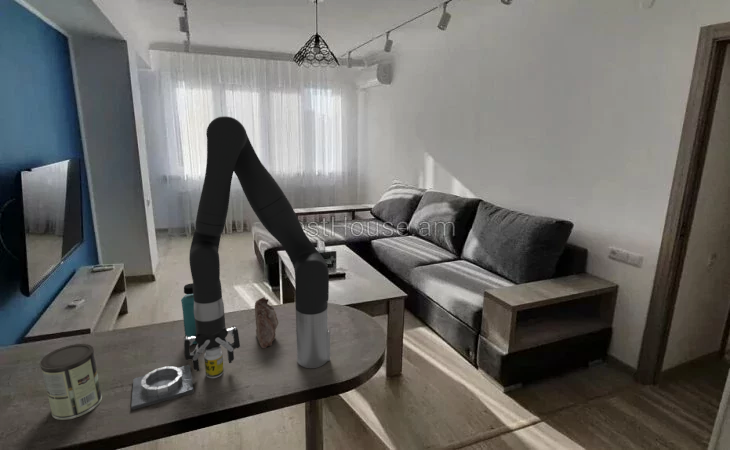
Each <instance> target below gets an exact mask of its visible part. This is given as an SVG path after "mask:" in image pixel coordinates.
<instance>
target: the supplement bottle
mask: <svg viewBox="0 0 730 450" xmlns="http://www.w3.org/2000/svg"><path fill="white" fill-rule="evenodd" d="M203 358H204V360H203V361H204V369H205V376H206V377H207V378H209V379H216V378H218V377H221V376H222V375H223V374H224V372H225V371H224V370H225V369H224V368H225V367H224V360H223V359H224V357H223V352H222V350H221V345H220V346H219V347H215V348H211V349H204V357H203Z"/></svg>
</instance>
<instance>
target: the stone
mask: <svg viewBox="0 0 730 450" xmlns="http://www.w3.org/2000/svg"><path fill="white" fill-rule="evenodd" d="M268 303H269V299H268V298H267V297H265V296H263V297H261V298H259V299H258V300H256V301H255V303H254V314H255V316H254V317H255V326H256V329H255V335H256V338H257V341H258V343H259V345H260V348H261V349H266V348H267V347H270V346H272V345H273V341H275V338H276V333H277V332H276V329H277V328H278V326H279V320H278V317H277V313H276V311H275V308H274V307H273V305H270V304H268Z"/></svg>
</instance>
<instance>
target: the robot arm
mask: <svg viewBox="0 0 730 450" xmlns="http://www.w3.org/2000/svg"><path fill="white" fill-rule="evenodd" d="M205 167H206V168H205V173H204V180H203V185H202V189H201V192H200V196H199V197H200V199H199V202H198V208H197V211H196V212H197V213H196V218H195V219H196V220H195V224H194V225H195V227H194V232H193V235H192V236H193V237H192V240H191V243H190V248H189V259H188V260H189V268H190V274H191V279H192V283H193V297H194V317H195V327H196V335H195V336H193V337H188V336H185V335H184V336H183V351H184V353H183V354H184V359H185V360H186V361H189V360H191V361H192V367H193V370H194V371H196V372H200V363H199V357H200V356H201V354H203V352H205V349H211V348H215V347H219V346H220V347H223V348H224V349H226V350H227V351H226V352H227V362H228V364H232V362H233V361H234V360H235V357H234V351H235V349H239V348H240V347H241V344H240V343H241V342H240V337H239V329H238V328H237V325H232V327H231V328H230V327H229V328H226V317H225V315H226V314H225V306H224V304H225V303H224V300H223V294H222V293H223V291H222V283H221V278H220V276H221V275H220V274H221V273H220V272H221V267H220V266H221V265H220V254H219V249H220V241H221V236H222V234H223V232H224V230H225V225H226V221H227V217H228V212H229V211H228V210H229V205H230V198H231V187H232V180H233V175H234V174H235V176H236V178H237V180H238V183H239V184H240V186H241V189H242V190H243V193H244V196H245V198H246V200H247V202H248V203H249V206H250V207H251V208H252V211H253V213H254V214H255V215H256V217H257V219H258V220H259V222H260V224H262V226H263V227H264V229H266V230H267V232H268V233H269V234H270V235H271V236H272V238H274V239H275V240H276V241H277V242H278V243H280V246H281V247H282V248H283V250H284V251H285V253H286V254H287V256H288V258H289V260H290V262H291V264H292V266H293V267H292V268H293V269H294V283H295V284H294V285H295V287H294V288H295V300H294V301H295V303H294V304H295V331H296V333H295V334H296V335H295V336H296V362H297V364H298V365H299V366H301V367H303V368H306V369H315V368H320V367H322V366H323V365H325V364H326V363H327V362H329V361H331V331H330V330H329V327H328V326H329V324H328V323H329V321H328V320H329V319H328V318H329V317H328V308H329V307H328V302H329V292H330V291H329V289H330V282H329V281H330V278H329V277H330V276H329V275H330V273H329V268H328V265H327V263H326V260H325V259H324V257H323V255H322V254H321V253H320V251H319V250H318V249H317V248H316V247H315V245H313V242H312V241H311V240H310V239H309V238H308V235H307V234H306V233H305V231H304V229H303V226H302V224H301V222H300V220H299V218H298V216H297V214H296V212H295V210H294V208H293V206H292V204H291V203H290V201H289V200H288V198H287V196H286V194H285V192H284V191H283V190H282V187H280V186H279V184H278V182H277V181H276V180H275V179H274V177H273V176H272V174H271V173H270V172H269V171H268V169H267V168H266V167H265V165H264V164H263V163H262V162H261V160H260V158H259V157H258V155H257V153H256V150H255V149H254V147H253V144H252V142H251V140H250V138H249V136H248V133H247V131H246V129H245V126H244V125H243V124H242V123H241V122H240V121H239V120H238V119H236V118H234V117H232V116H227V115H222V116H218V117H216V118H215V117H214V119H213V120H211V121H210V123H209V124H208V125H207V128H206V166H205ZM228 334H229V335H230V336H231V337H232V339H233V342H230V341H229V340H228V339H227V338H226V337H227V336H228ZM194 341H196V342H197V343H196V346H195V348H194V350H193V351H192V352H191V351H190V346H192V345H193V342H194Z"/></svg>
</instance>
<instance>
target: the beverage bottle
mask: <svg viewBox="0 0 730 450" xmlns="http://www.w3.org/2000/svg"><path fill="white" fill-rule="evenodd" d="M183 294H185V295H183V297H182V298H181V300H180V301H181V308H182V317H183V318H182V319H183V327H184V337H185V336H188V337H193V336H195V335H196V327H195V317H194V297H193V282H192V283H187V284H185V285H184V287H183ZM193 344H194V345H197V344H198V343H197V342H196V341H194V342H193ZM193 344H192V345H193Z"/></svg>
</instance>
